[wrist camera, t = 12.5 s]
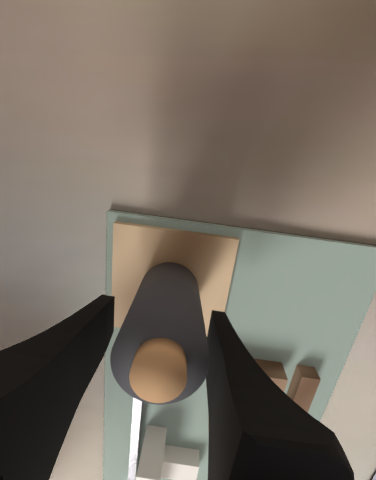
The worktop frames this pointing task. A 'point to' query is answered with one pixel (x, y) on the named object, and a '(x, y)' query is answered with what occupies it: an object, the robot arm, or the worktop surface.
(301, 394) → the cradle
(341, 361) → the mat
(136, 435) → the rail
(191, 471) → the white t-shaped block
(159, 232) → the plate
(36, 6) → the worktop surface
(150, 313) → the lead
